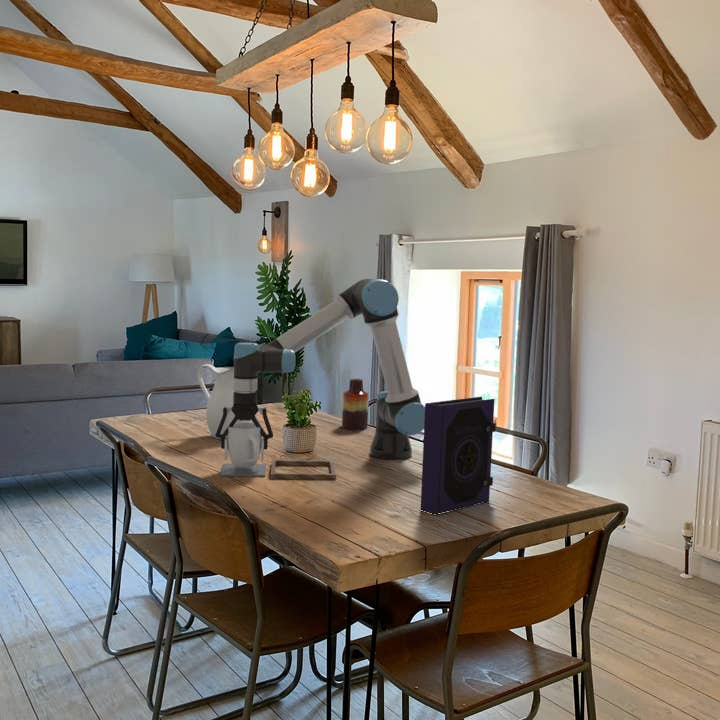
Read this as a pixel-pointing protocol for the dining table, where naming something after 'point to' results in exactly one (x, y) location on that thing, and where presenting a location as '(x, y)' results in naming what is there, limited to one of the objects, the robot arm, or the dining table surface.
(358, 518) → the dining table surface
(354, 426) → the vase
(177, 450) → the dining table surface
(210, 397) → the pitcher
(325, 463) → the frame
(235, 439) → the mug
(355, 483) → the dining table surface
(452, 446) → the book
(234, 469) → the slate trivet
